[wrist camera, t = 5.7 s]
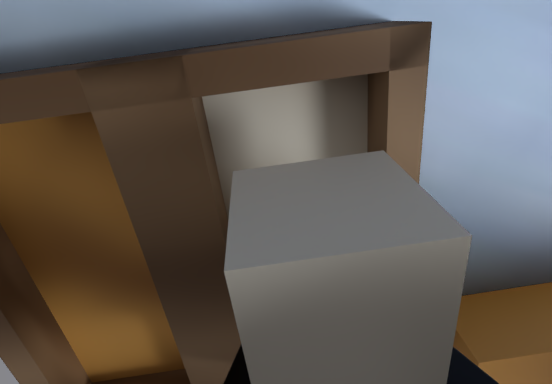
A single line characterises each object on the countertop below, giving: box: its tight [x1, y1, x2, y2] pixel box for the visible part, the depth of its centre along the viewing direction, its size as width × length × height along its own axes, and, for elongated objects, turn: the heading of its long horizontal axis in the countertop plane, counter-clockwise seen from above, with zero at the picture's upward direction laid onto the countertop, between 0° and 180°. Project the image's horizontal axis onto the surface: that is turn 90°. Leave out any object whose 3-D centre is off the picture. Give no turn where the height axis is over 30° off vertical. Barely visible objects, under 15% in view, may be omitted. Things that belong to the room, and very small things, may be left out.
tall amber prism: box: [453, 282, 552, 384], centre depth 15 cm, size 9×4×4 cm, turn 97°
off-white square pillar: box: [224, 150, 472, 384], centre depth 8 cm, size 9×4×4 cm, turn 7°
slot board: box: [0, 21, 432, 384], centre depth 12 cm, size 14×14×2 cm
